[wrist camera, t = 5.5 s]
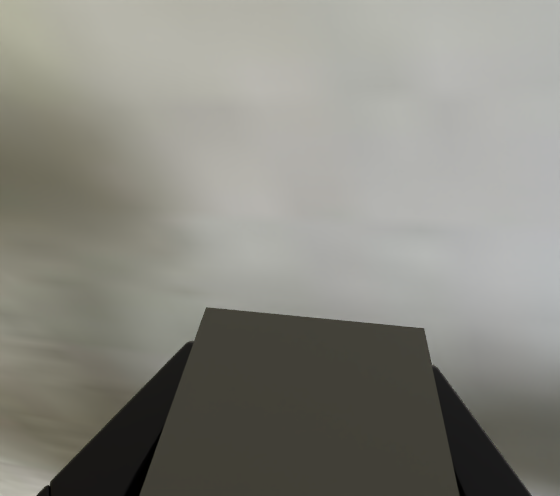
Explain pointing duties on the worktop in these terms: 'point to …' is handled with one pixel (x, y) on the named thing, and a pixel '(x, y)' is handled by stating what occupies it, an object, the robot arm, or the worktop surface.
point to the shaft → (303, 412)
